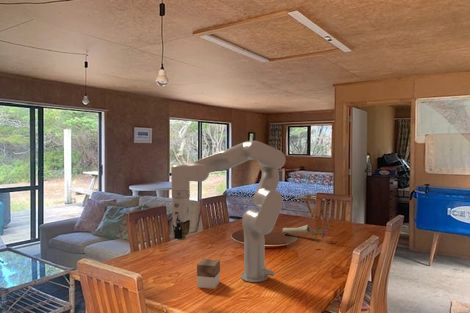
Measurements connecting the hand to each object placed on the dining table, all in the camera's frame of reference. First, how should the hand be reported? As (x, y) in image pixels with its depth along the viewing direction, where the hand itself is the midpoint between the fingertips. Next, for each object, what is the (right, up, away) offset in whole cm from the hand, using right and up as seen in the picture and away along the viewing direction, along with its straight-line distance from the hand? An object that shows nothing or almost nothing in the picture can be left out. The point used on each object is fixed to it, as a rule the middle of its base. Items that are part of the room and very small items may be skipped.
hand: (181, 236), depth 145 cm
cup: (0, -2, 0) cm, 2 cm away
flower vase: (+70, -21, +84) cm, 111 cm away
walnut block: (+11, -18, +7) cm, 22 cm away
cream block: (+11, -23, +7) cm, 27 cm away
